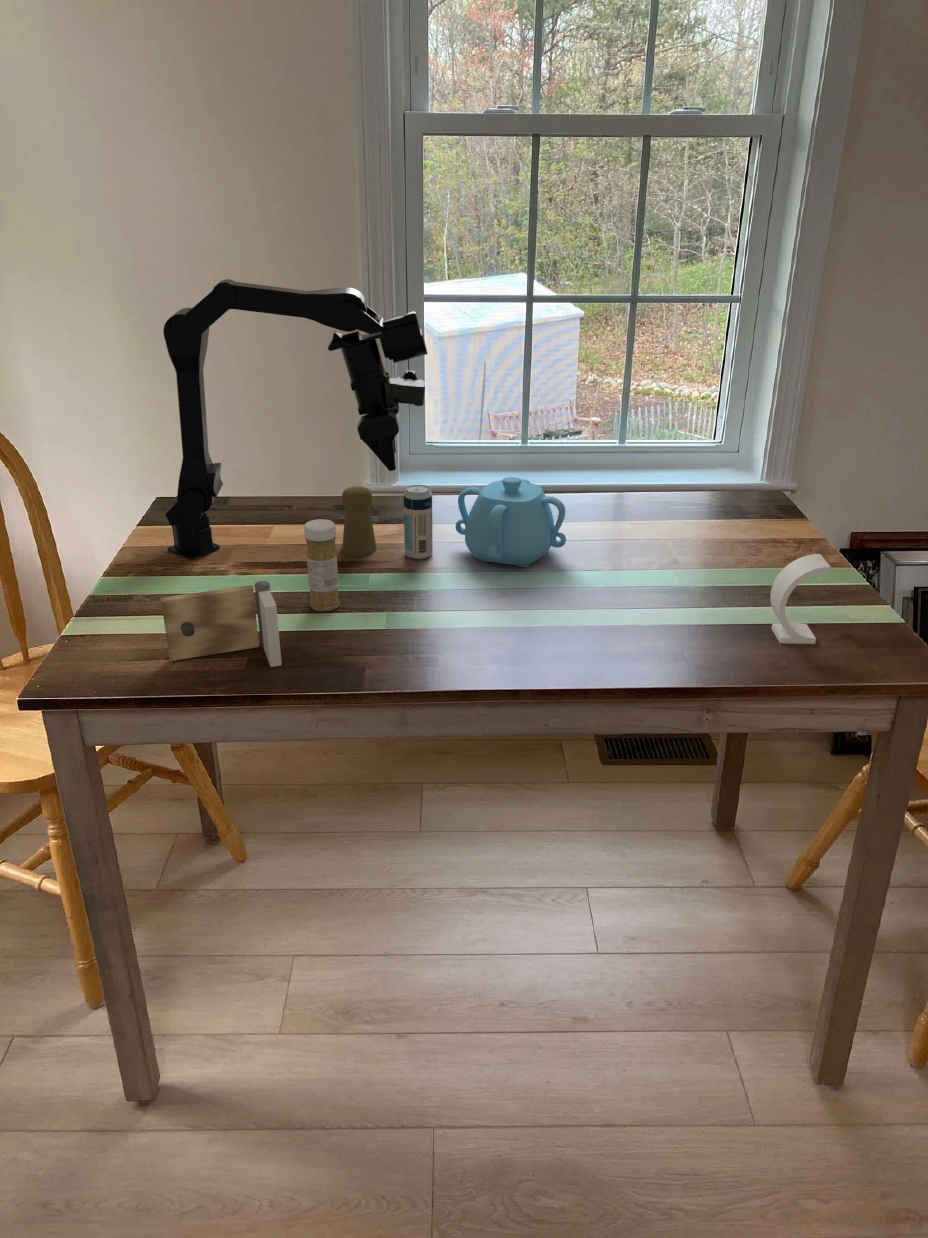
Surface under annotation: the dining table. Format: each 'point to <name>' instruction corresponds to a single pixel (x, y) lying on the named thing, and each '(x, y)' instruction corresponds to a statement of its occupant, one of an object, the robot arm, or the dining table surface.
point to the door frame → (268, 623)
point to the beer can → (418, 521)
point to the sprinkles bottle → (322, 564)
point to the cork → (358, 522)
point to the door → (210, 622)
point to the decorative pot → (510, 522)
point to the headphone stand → (784, 587)
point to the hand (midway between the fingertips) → (392, 461)
